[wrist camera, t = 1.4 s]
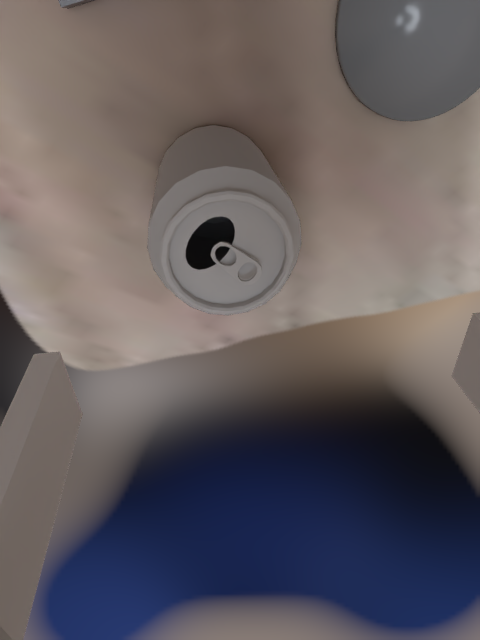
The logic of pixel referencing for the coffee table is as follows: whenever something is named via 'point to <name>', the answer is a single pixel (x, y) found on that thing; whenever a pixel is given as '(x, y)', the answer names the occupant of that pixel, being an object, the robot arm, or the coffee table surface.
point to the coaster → (409, 54)
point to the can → (221, 223)
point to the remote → (72, 3)
